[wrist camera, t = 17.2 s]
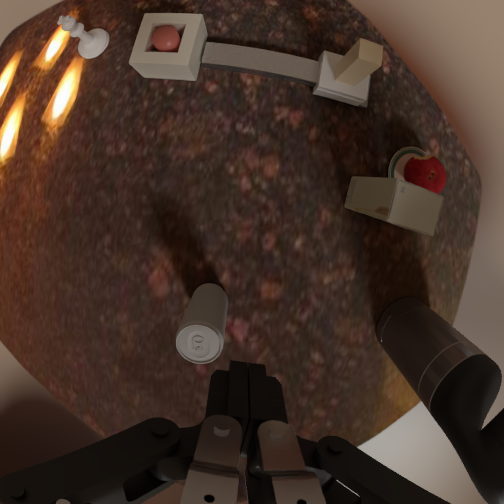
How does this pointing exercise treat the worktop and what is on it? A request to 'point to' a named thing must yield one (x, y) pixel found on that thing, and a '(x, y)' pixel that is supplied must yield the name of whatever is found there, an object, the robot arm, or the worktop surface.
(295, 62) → the rail
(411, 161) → the apple
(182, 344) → the beverage can
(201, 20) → the cream square box
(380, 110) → the worktop surface
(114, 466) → the robot arm
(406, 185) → the skincare box
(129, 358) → the worktop surface
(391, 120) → the worktop surface
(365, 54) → the carriage
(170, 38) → the button
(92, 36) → the chess piece
